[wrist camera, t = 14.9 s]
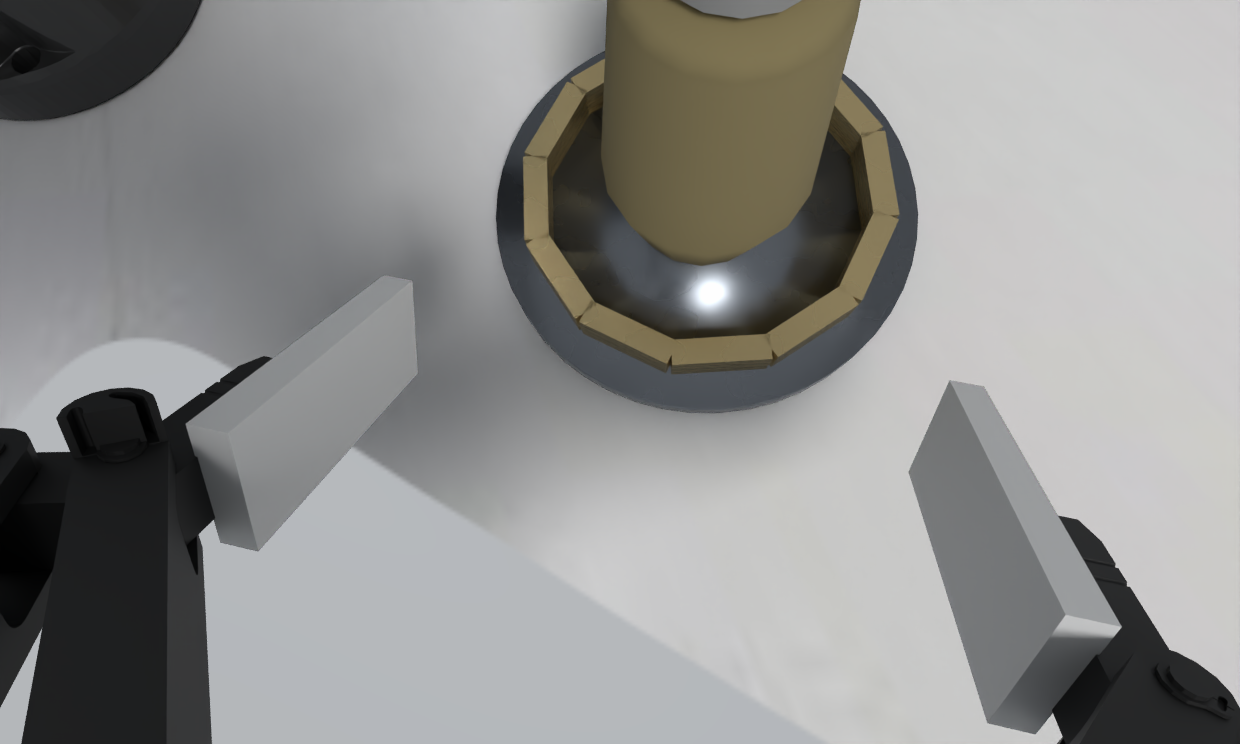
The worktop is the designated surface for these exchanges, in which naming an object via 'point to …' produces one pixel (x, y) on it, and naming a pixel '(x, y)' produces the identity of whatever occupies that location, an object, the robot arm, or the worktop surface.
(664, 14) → the squeeze bottle
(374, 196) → the worktop surface
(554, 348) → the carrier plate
